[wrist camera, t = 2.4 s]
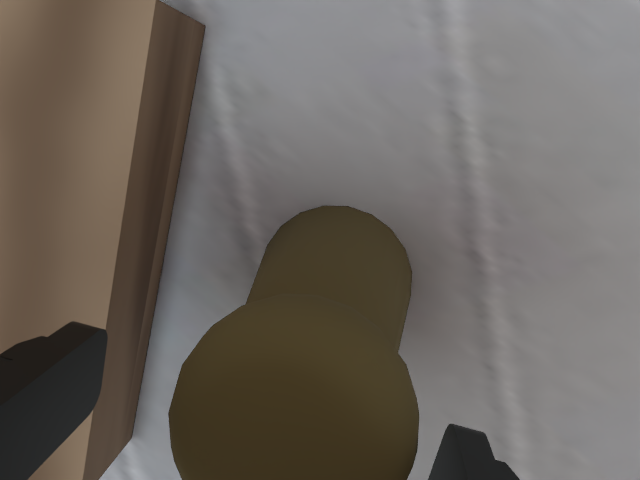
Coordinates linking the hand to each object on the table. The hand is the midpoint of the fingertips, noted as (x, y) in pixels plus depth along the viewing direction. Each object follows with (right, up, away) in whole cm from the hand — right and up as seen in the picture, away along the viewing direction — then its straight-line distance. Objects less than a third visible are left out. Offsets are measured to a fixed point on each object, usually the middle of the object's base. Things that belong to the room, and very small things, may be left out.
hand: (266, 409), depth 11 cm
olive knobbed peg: (+2, +2, +8) cm, 9 cm away
